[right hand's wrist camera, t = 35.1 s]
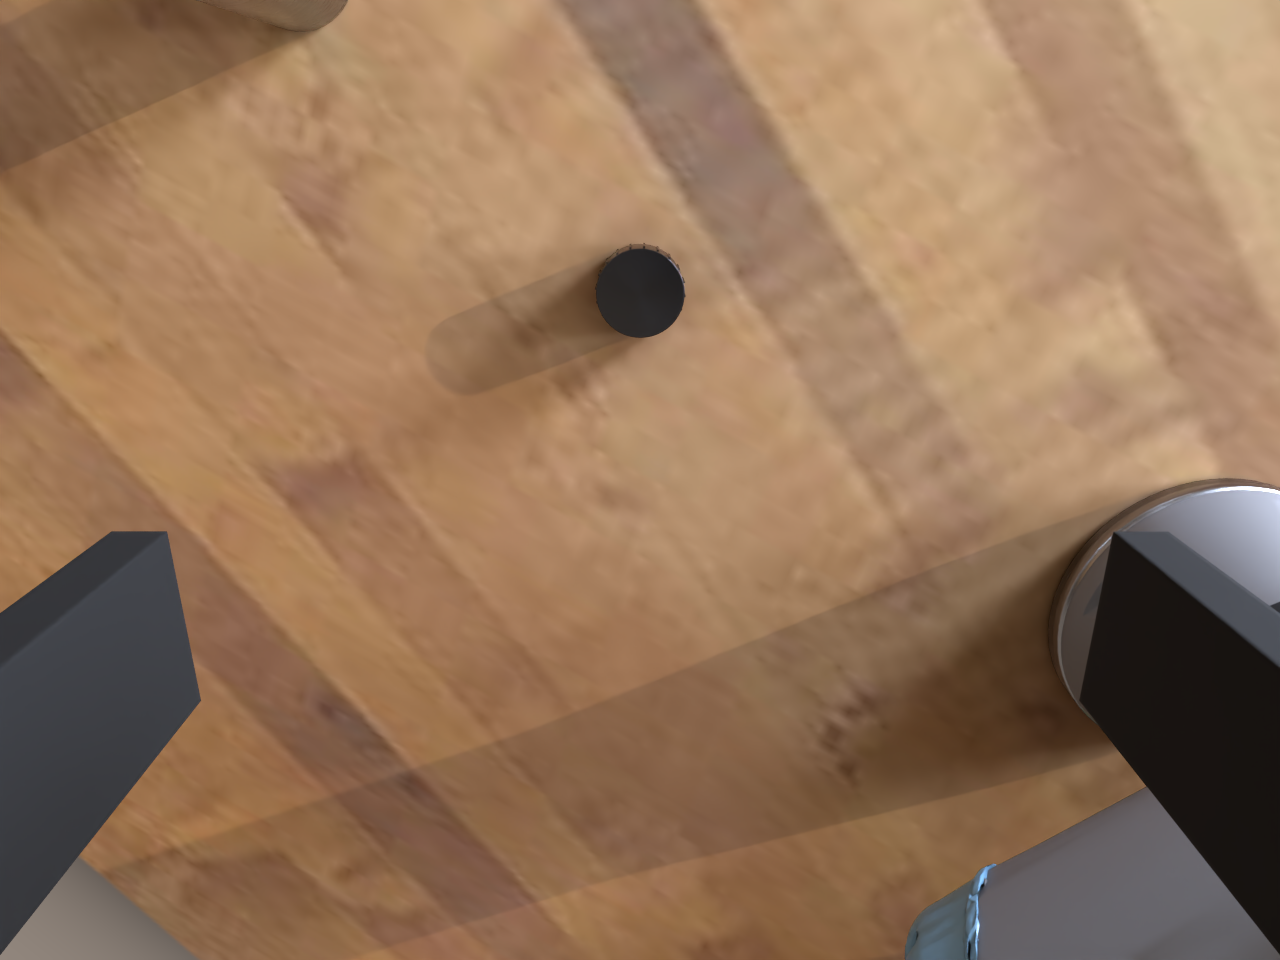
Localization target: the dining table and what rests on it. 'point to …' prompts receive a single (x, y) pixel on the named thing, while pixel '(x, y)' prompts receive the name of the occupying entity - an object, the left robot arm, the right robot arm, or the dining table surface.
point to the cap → (640, 290)
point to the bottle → (285, 11)
